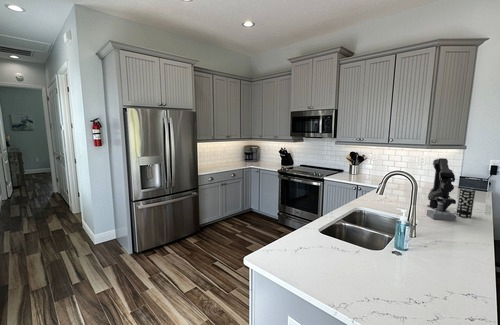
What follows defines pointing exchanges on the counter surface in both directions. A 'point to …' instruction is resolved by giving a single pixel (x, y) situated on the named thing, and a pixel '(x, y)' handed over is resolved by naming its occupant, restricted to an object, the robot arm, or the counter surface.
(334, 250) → the counter surface
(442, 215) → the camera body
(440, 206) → the lens
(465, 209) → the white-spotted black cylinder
